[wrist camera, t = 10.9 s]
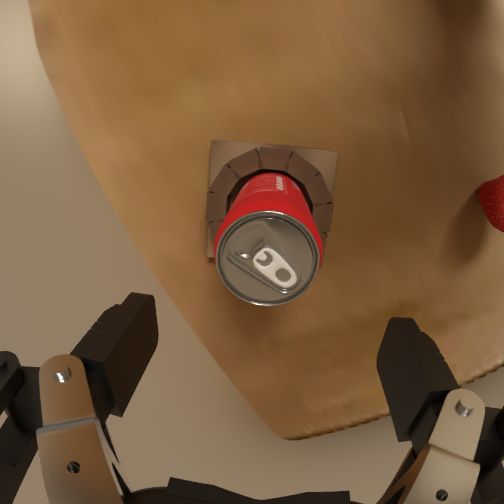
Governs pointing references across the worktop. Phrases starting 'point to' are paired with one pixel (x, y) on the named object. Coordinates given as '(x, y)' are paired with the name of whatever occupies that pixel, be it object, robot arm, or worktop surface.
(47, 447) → the robot arm
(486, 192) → the fruit
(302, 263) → the beverage can
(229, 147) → the holder
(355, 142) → the worktop surface
